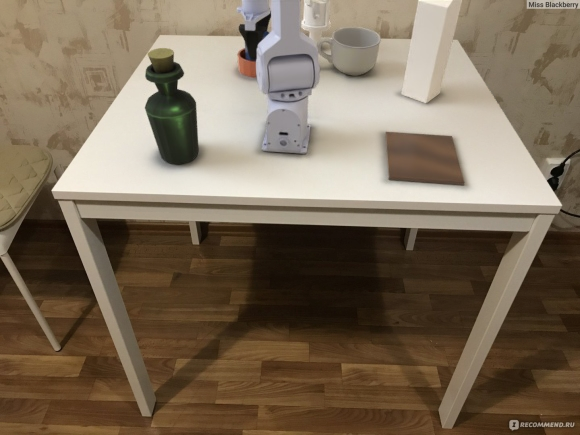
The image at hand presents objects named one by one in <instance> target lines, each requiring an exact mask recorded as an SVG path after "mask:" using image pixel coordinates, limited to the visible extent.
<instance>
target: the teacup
mask: <svg viewBox="0 0 580 435" xmlns="http://www.w3.org/2000/svg"><path fill="white" fill-rule="evenodd" d="M381 41H382V37H381V35H380V34H379V33H378V32H376V31H375V30H373V29H371V28H367V27H362V26H343V27H339V28H337V29H335V30H334V31H333V32H332V35H331V38H330V37H329V36H324V37H323V36H322V38H321V39H320V40H319V41H318V43H317V48H318V55H319V56H321V57H322V58H324V59H325V60H327V61H328V63H329V64H332V65H333V66H334V68H335V69H337V70H338V71H339V72H341V73H342V74H345V75H347V76H361V75H364V74H366V73H367V72H369V71H370V70H372V69H373V68H374V66H375V65H376V64H377V60H378V55H379V49H380V44H381ZM325 43H327V44H328V45H329V48H330V50H331V52H330V54H328V53H326V52H325V51H324V50H323V49H322V45H323V44H325Z"/></svg>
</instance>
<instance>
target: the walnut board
mask: <svg viewBox="0 0 580 435" xmlns="http://www.w3.org/2000/svg"><path fill="white" fill-rule="evenodd" d="M384 134H385V146H386V162H387V176H388V180H389V181H399V182H400V181H401V182H412V183H413V182H415V183H427V184H442V185H454V186H455V185H457V186H464V185H465V179H464V176H463V175H464V174H463V172H462V168H461V165H460V161H459V157H458V153H457V149H456V145H455V142H454V139H453V136H452V135H441V134H426V133H414V132H413V133H412V132H411V133H410V132H399V131H398V132H395V131H385V133H384Z"/></svg>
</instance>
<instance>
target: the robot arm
mask: <svg viewBox="0 0 580 435" xmlns="http://www.w3.org/2000/svg"><path fill="white" fill-rule="evenodd" d="M236 13H238V14H241V15H242V18H243V20H244V23H240V24H239V25H238V32H239V33H240V35H241V37H242V38H243V40H244V44H245V43H246V47H247V50H248V54H249V57H250V59H256V74H257V78H256V81H257V85H258V89H259V91H260V92H261V93H262V94H263V95H266V112H267V113H266V115H267V116H266V118H265V119H266V121H265V124H266V125H265V127H266V131H265V135H264V138H263V141H262V145H261V151H263V152H273V153H274V152H276V153H289V154H303V155H304V154H307V152H308V147H309V140H310V134H311V128H312V127H311V126H312V125H311V124H310V123H308V122H309V121H308V118H309V96H312V92H313V90H314V89H317V86H318V85H319V82H320V78H321V68H320V60H319V53H318V48H317V46H316V44H315V42H314V41H313V40H312V39H311V38H309V35H307V34H305V33H304V32H303V31H302V27H301V25H302V0H241V6H240V5H239V6H237V7H236ZM270 22H271V25H270V26H271V27H270V28H271V30H270V31H269V34H268V35H267V36H266V37H265V38H264V39H263V35H264V32H265V30H266V31H268V29H269V24H270ZM262 39H263V40H262Z"/></svg>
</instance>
